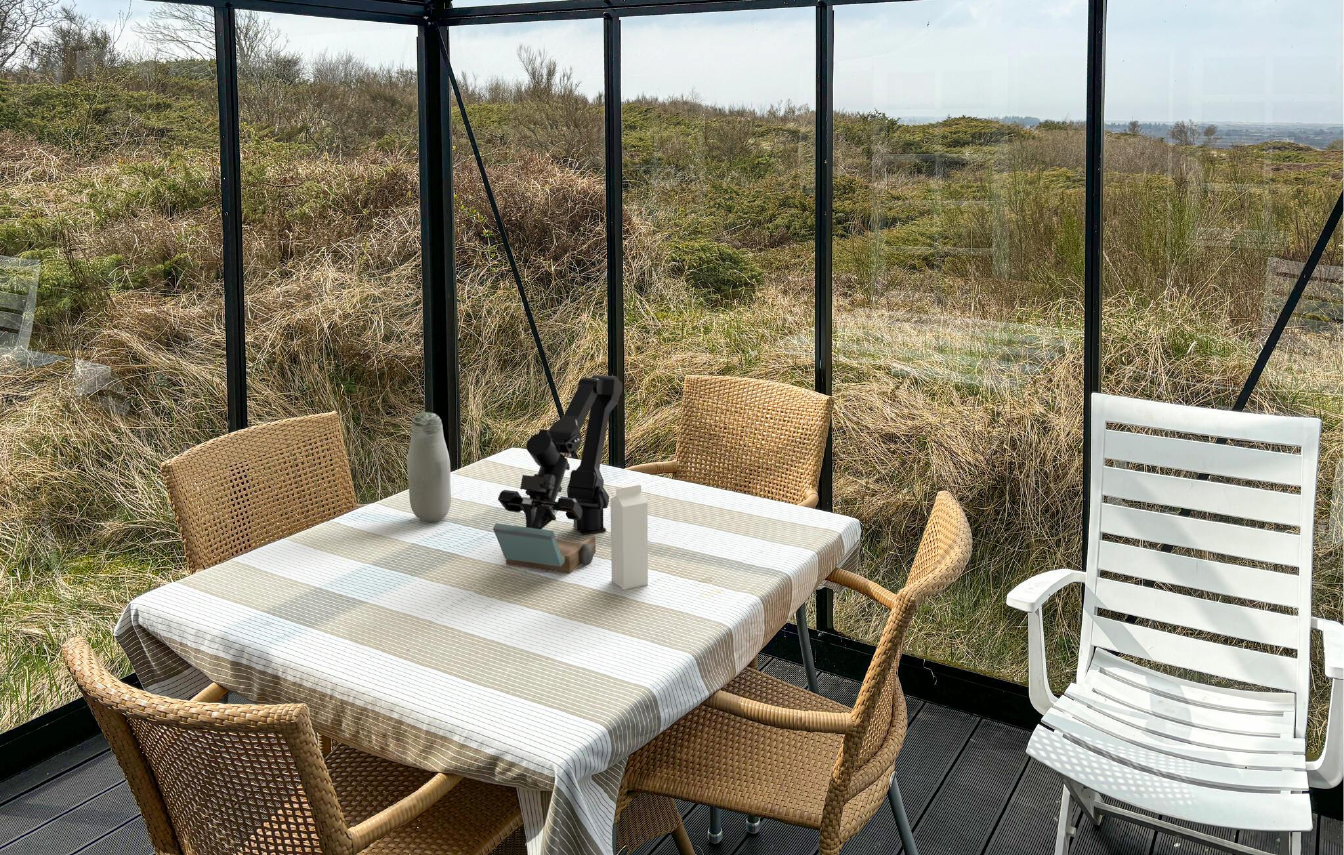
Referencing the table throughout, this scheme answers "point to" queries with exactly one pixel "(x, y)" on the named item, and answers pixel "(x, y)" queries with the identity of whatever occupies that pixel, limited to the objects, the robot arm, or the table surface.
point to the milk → (629, 538)
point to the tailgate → (528, 544)
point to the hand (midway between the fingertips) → (528, 538)
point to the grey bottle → (428, 469)
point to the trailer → (566, 556)
